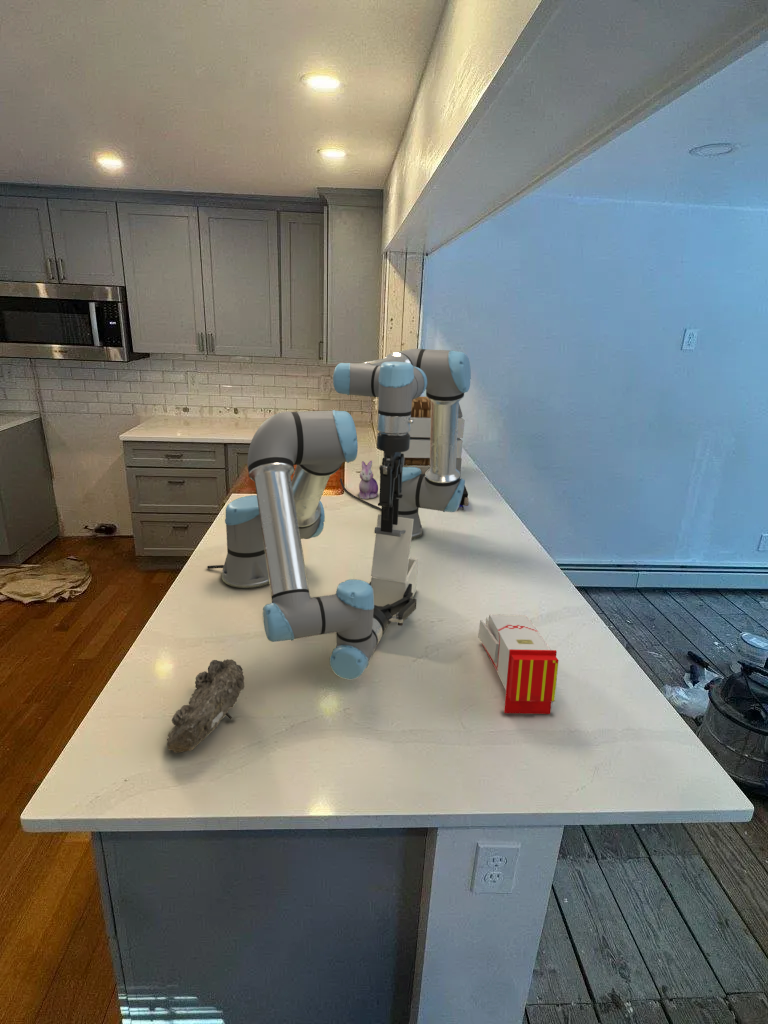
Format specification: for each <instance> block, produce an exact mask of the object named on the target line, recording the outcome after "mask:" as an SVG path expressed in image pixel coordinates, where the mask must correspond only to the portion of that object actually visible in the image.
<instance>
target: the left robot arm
mask: <svg viewBox="0 0 768 1024" xmlns="http://www.w3.org/2000/svg"><path fill="white" fill-rule="evenodd" d="M358 448H359V447H358V435H357V429H356V424H355V422H354V419H353V416H352V415H351V414H350V413H349V412H348V411H346V410H335V409H332V410H309V411H307V410H306V411H281V412H278V413H275V414H273V415H271V416H269V417H268V418H267V419H265V420H264V421H263V422H262V423H261V424H260V426H259V427H258V428H257V429H256V431H255V433H254V435H253V437H252V439H251V441H250V443H249V448H248V451H247V459H246V460H247V465H246V466H247V471H248V472H247V473H248V477H249V479H251V480H252V481H253V482H254V487H255V494H251V495H246V496H242V497H238V498H235V499H234V500H232V501H230V502H229V503H228V504H227V505H226V507H225V519H224V523H225V527H226V529H225V530H226V531H225V532H226V548H227V549H226V551H227V552H226V557H225V560H224V564H215V565H207V566H206V568H207V569H208V570H212V569H222V570H221V571H222V572H221V579H222V582H223V583H224V584H226V585H227V586H230V587H232V588H237V589H256V588H260V587H264V586H266V585H269V592H270V597H271V598H270V599H271V602H270V603H266V604H265V605H264V606H263V608H262V620H263V628H264V633H265V636H266V638H267V639H268V641H270V642H273V643H277V642H284V641H292V642H293V641H295V640H297V639H305V638H308V637H315V636H321V635H327V634H334V633H336V634H335V635H336V636H335V641H336V642H335V647H334V648H333V649H332V651H331V655H330V657H329V666H330V668H331V670H332V672H334V674H335V675H336V676H338V677H339V678H341V679H345V680H356V679H358V678H359V677H360V676H362V675H363V673H364V672H365V670H366V669H367V668H368V666H369V665H370V664H369V663H370V661H371V659H372V657H373V655H374V653H375V651H376V649H377V647H378V645H379V644H380V641H381V639H382V637H383V635H384V634H385V631H386V630H387V628H388V625H390V624H392V623H397V626H399V627H402V626H403V624H404V621H405V620H406V619H408V618H409V617H410V615H412V614H413V613H414V611H416V610H417V602H418V600H417V598H414V596H413V593H412V584H409V585H408V587H407V589H406V591H405V593H404V595H403V598H402V599H400V600H398V601H396V602H394V603H392V604H387V605H385V606H377V605H374V595H373V588H372V587H371V581H369V582H367V581H364V580H361V579H354V578H353V579H351V578H350V579H346V580H344V581H341V582H340V583H338V584H337V588H336V591H335V593H334V594H328V595H321V596H320V595H319V596H315V597H314V596H313V597H311V595H310V594H311V593H310V588H309V581H308V576H307V569H306V564H305V563H306V562H305V556H304V550H303V545H302V540H309V539H312V538H317V537H318V536H320V535H321V534H322V532H323V530H324V527H325V523H324V522H325V519H326V517H325V514H326V513H325V507H324V504H323V502H322V501H321V499H322V496H323V494H324V492H325V489H326V487H327V485H328V483H329V479H330V478H331V476H332V475H334V474H335V473H337V472H338V471H339V470H340V468H341V467H342V465H343V463H347V464H349V463H351V462H355V461H356V459H357V457H358V450H359V449H358ZM395 614H396V615H395ZM393 615H395V616H393Z"/></svg>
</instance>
